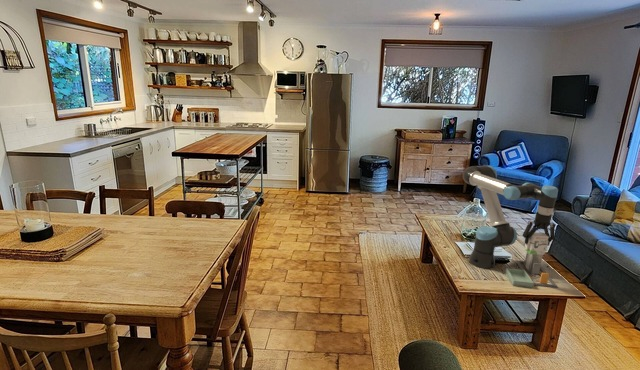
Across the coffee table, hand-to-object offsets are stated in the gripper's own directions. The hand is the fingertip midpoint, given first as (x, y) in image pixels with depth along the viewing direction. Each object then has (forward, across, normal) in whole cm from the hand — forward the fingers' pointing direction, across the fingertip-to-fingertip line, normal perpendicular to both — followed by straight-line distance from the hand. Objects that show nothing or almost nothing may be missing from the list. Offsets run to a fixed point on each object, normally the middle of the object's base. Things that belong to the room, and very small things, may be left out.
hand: (535, 249), depth 208 cm
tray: (+19, -7, -3) cm, 20 cm away
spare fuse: (+19, +7, +12) cm, 24 cm away
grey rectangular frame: (+19, +6, +6) cm, 21 cm away
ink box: (+2, 0, 0) cm, 2 cm away
